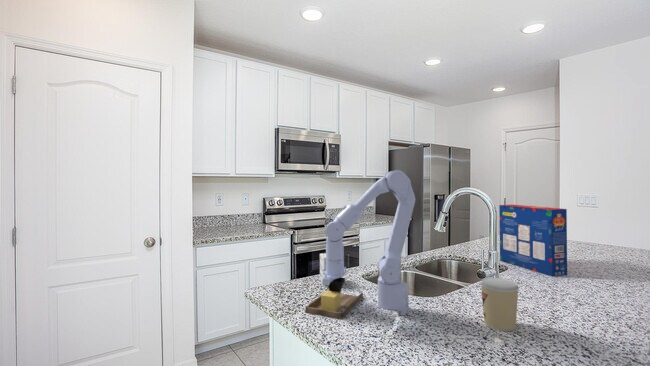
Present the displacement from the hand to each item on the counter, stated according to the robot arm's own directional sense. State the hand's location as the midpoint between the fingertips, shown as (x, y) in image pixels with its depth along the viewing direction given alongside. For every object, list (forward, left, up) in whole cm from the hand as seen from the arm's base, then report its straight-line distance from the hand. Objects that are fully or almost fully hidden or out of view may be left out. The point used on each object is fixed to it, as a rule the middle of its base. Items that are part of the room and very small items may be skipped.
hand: (335, 301), depth 104 cm
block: (0, +3, -1) cm, 4 cm away
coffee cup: (-47, -7, -2) cm, 48 cm away
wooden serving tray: (0, 0, -2) cm, 2 cm away
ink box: (+12, -20, -2) cm, 24 cm away
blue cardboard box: (-64, -79, -2) cm, 102 cm away
